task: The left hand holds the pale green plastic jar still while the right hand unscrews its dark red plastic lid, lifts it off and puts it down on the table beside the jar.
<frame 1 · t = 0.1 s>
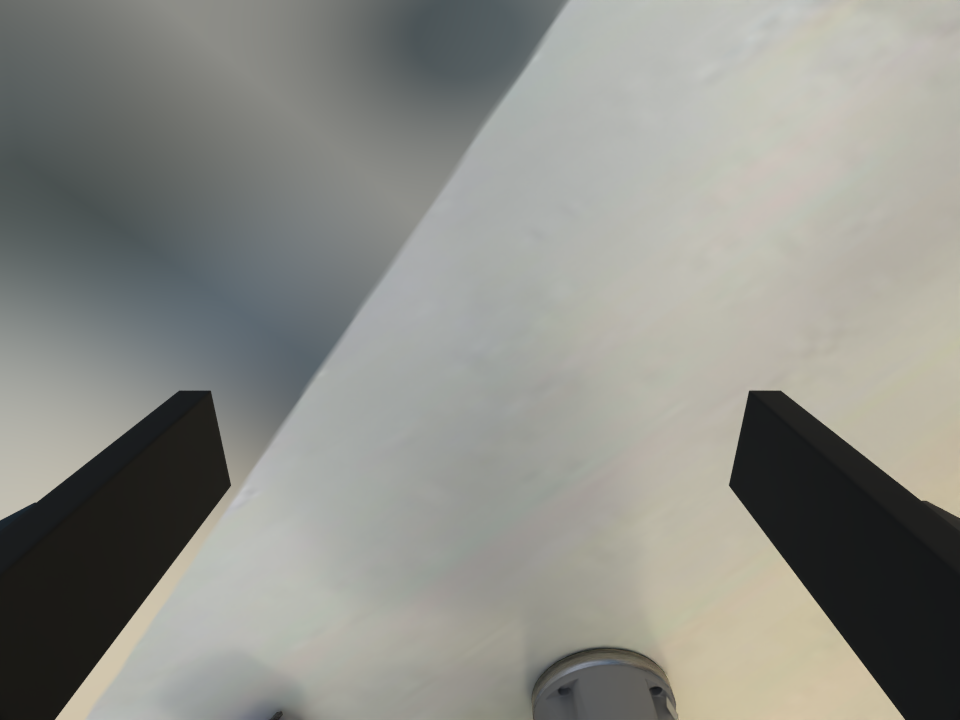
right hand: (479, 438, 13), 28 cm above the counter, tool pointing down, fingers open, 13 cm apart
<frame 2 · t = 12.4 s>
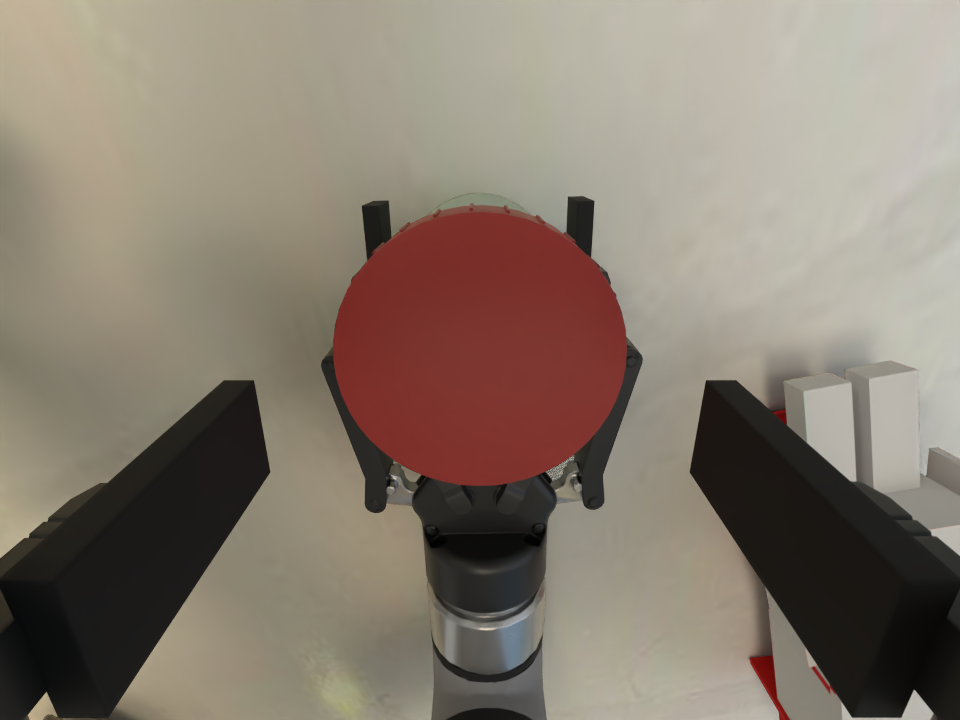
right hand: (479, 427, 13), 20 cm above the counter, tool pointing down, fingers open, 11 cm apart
lid: (480, 359, 18), point 16 cm above the counter, screwed on, not yet turned
jar: (480, 267, 32), on the counter, touching left hand
toy: (802, 529, 40), on the counter
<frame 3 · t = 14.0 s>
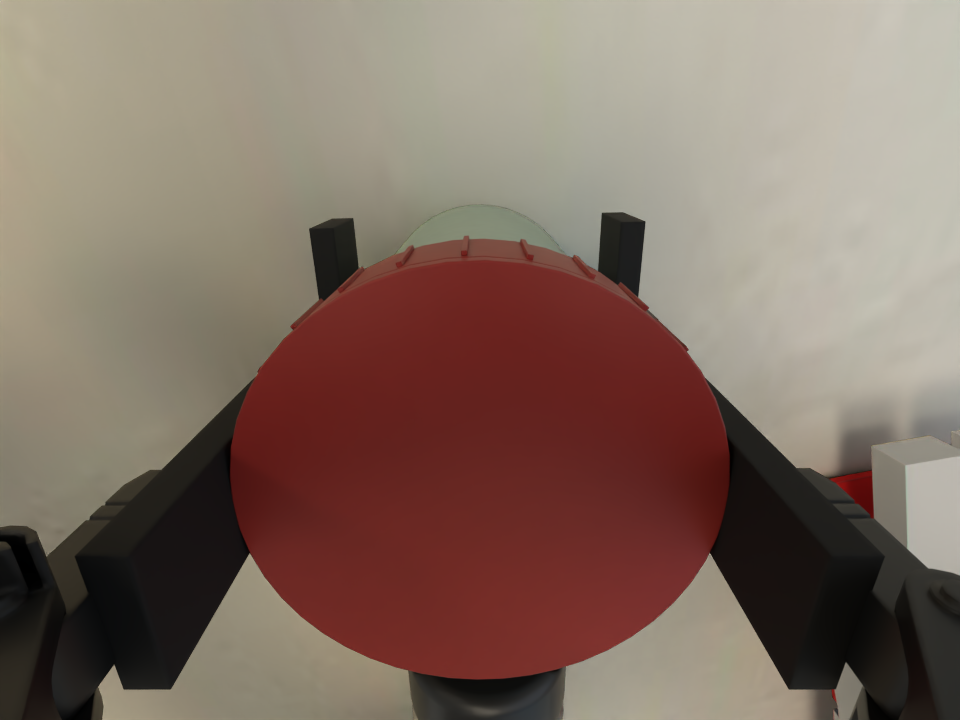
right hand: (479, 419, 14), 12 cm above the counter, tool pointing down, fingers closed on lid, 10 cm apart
lid: (479, 496, 11), point 16 cm above the counter, screwed on, not yet turned, touching right hand
jar: (479, 299, 25), on the counter, touching left hand
toy: (872, 610, 33), on the counter
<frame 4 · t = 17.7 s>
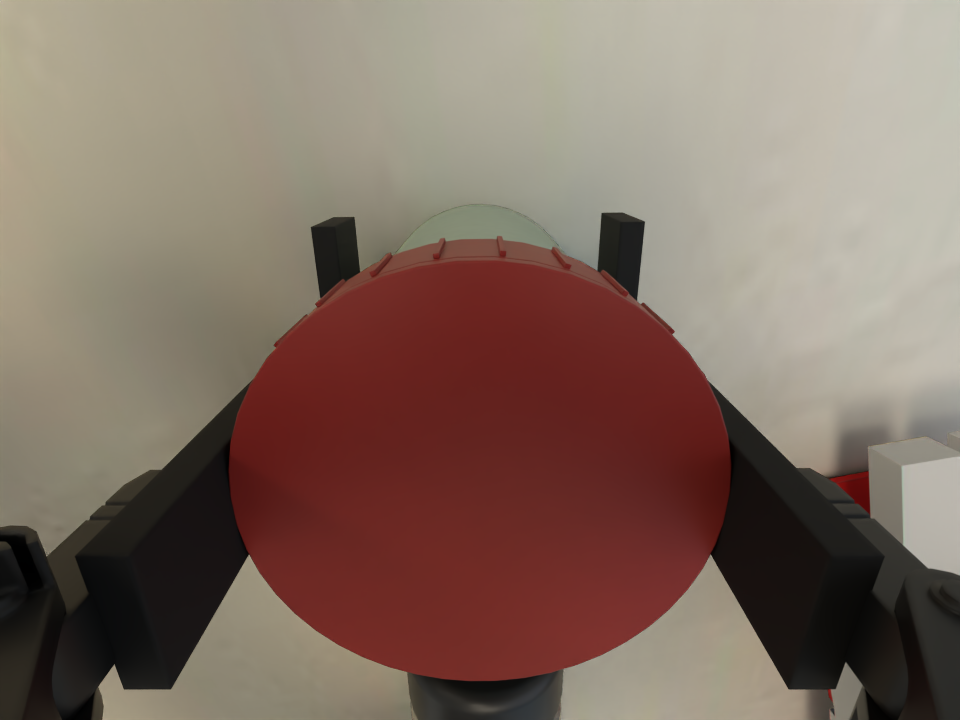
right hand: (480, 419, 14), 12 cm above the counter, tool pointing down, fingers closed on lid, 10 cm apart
lid: (479, 498, 11), point 16 cm above the counter, turned 126° so far, risen 0.2 cm, still on its thread, touching right hand
jar: (479, 299, 25), on the counter, touching left hand
toy: (868, 610, 33), on the counter
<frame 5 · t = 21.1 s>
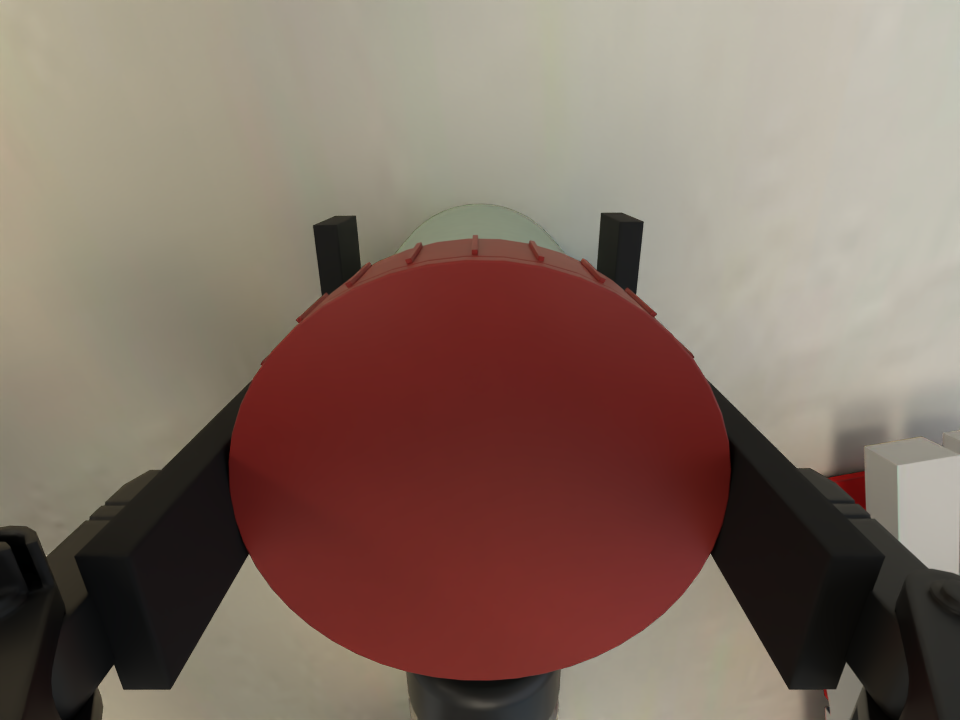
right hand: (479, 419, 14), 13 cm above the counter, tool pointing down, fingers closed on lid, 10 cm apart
lid: (479, 497, 11), point 16 cm above the counter, turned 252° so far, risen 0.3 cm, still on its thread, touching right hand
jar: (479, 298, 25), on the counter, touching left hand
toy: (864, 609, 33), on the counter
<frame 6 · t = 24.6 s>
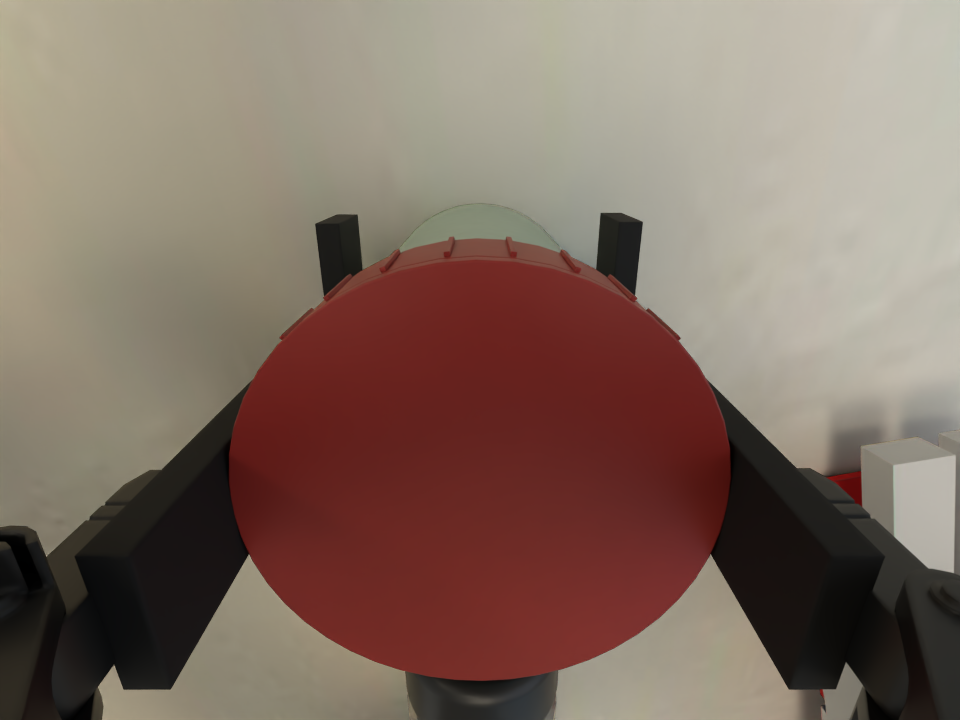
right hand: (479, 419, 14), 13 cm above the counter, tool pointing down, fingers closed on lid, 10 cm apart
lid: (479, 497, 11), point 16 cm above the counter, turned 378° so far, risen 0.5 cm, still on its thread, touching right hand
jar: (479, 297, 26), on the counter, touching left hand
toy: (860, 609, 33), on the counter
when the right hand's fingers open (0 cm above the counter, at t = 30.5 s): lid drops 1 cm, point 2 cm above the counter.
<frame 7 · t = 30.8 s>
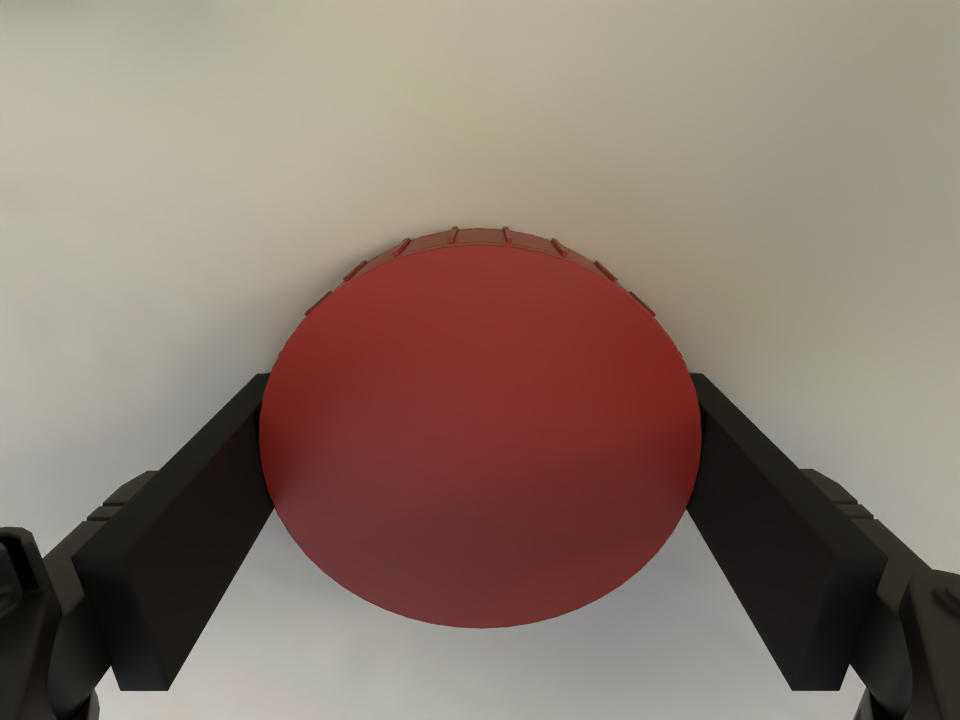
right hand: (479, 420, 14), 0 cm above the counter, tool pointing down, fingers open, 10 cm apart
lid: (479, 458, 12), point 2 cm above the counter, off its thread, touching right hand
when the left hand's fingers open (7 cm above the counter, at t = 32.1 s): jar stays where it is, on the counter.
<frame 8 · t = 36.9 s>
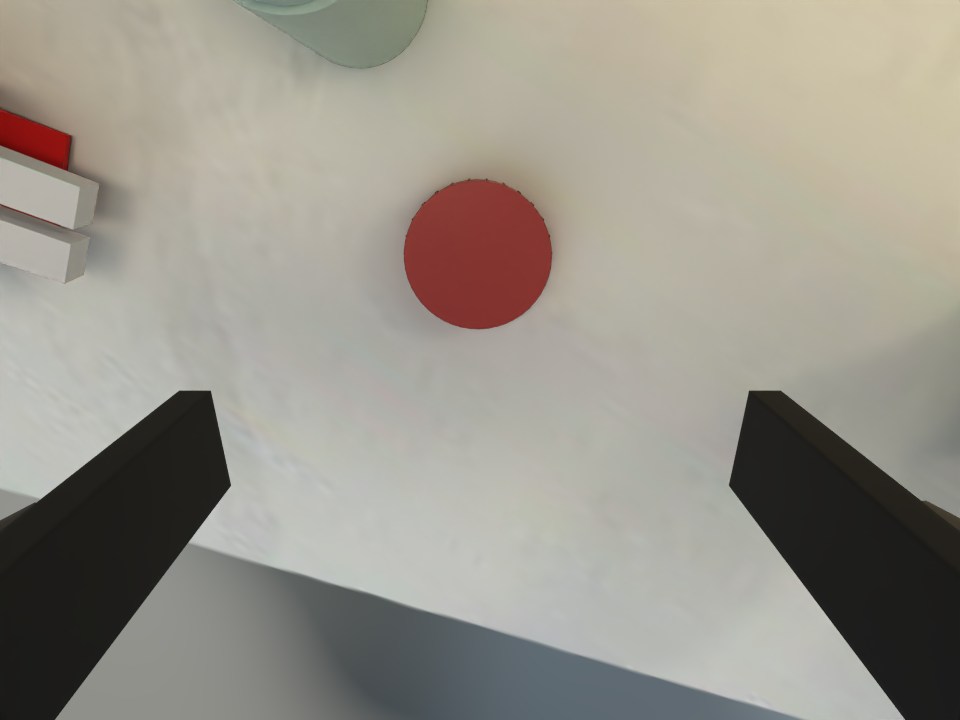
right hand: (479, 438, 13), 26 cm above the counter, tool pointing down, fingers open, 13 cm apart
lid: (477, 258, 35), point 2 cm above the counter, off its thread
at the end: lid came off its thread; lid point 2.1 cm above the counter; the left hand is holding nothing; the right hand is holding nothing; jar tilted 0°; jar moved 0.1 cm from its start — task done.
